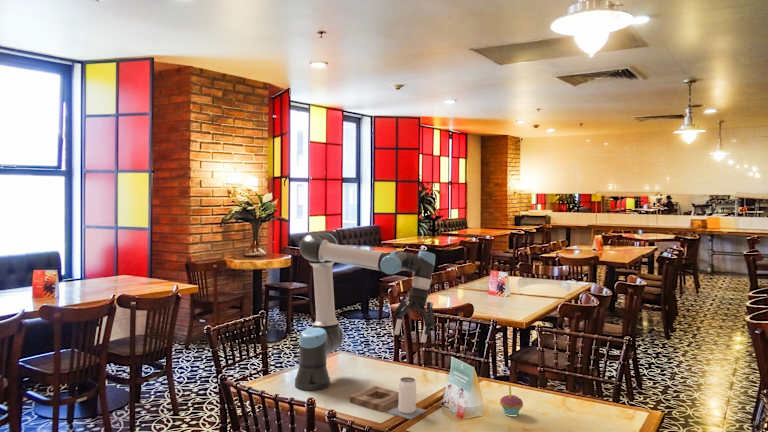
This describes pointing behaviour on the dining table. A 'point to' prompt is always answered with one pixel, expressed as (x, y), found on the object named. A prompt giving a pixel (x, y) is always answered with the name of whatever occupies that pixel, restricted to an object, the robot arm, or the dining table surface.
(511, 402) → the cupcake
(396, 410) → the mat
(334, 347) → the robot arm
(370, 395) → the holder
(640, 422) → the dining table surface
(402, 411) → the can
